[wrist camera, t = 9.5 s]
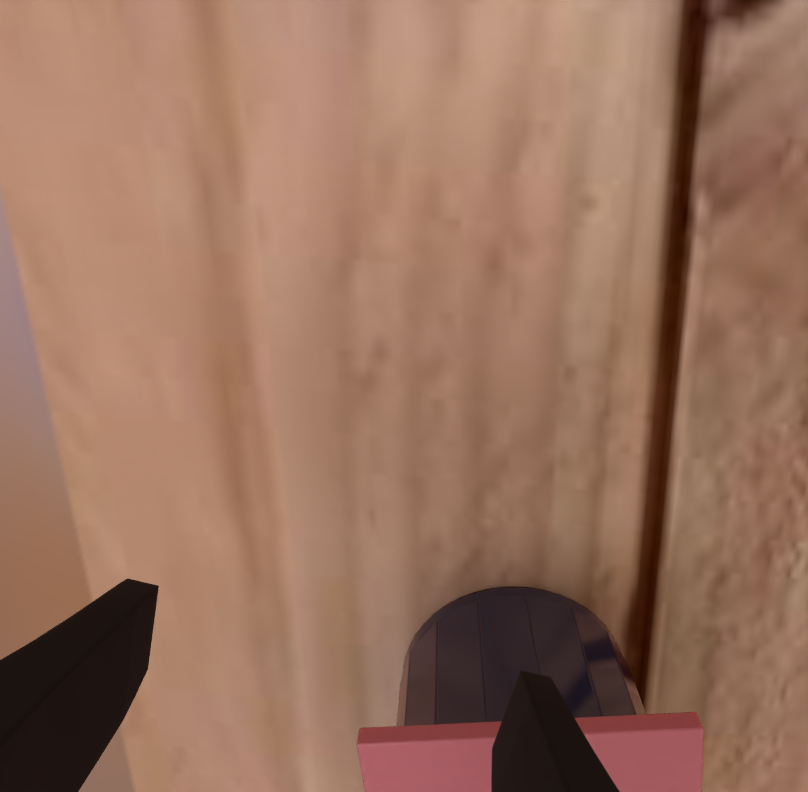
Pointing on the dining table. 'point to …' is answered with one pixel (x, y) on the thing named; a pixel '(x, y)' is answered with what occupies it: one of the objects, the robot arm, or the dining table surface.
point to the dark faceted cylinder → (512, 659)
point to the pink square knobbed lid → (472, 742)
